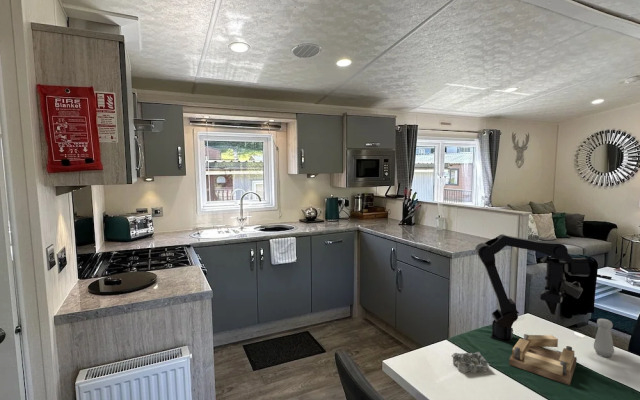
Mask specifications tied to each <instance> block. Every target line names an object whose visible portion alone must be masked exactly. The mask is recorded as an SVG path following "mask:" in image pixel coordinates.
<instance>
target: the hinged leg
mask: <svg viewBox="0 0 640 400" xmlns="http://www.w3.org/2000/svg"><path fill="white" fill-rule="evenodd" d="M523 339H524V340H527V341H529V347H543V348H559V347H558V343H559V342H558V341H559V339H558V338H557V337H555V336H554V335H551V334H550V335H548V334H547V335H545V334H542V335H541V334H526V333H524V334H523Z"/></svg>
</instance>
